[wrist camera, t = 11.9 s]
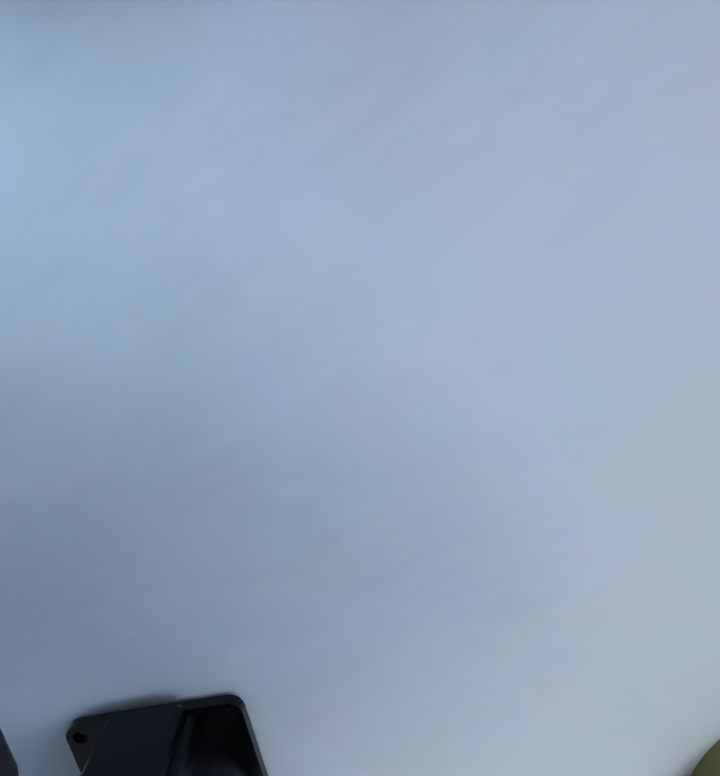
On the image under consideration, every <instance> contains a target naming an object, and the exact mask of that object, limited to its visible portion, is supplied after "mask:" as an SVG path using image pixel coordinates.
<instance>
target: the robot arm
mask: <svg viewBox="0 0 720 776" xmlns="http://www.w3.org/2000/svg"><path fill="white" fill-rule="evenodd" d="M226 709H231V710H233V711H234V712H228V711H227V710H226ZM80 732H82V733H84V734H82V733H80ZM66 738H67V741H68V744H69V746H70V748H71V751H72V753H73V755H74V758H75V760H76V762H77V765H78V767H79V769H80V771H81V775H80V776H268V775H267V771H266V768H265V765H264V762H263V759H262V756H261V753H260V750H259V747H258V744H257V741H256V737H255V734H254V731H253V728H252V725H251V722H250V719H249V716H248V713H247V710H246V707H245V704H244V702H243V700H241V699H240V698H239V697H237V696H234V695H226V696H219V697H213V698H206V699H200V700H194V701H187V702H181V703H174V704H168V705H161V706H155V707H148V708H142V709H135V710H129V711H122V712H116V713H110V714H103V715H97V716H90V717H84V718H79V719H76V720H74V721H73V722H72V724H71V726H70V727H69V729H68V731H67V734H66ZM0 776H19V772H18V766H17V763H16V761H15V759H14V757H13V755H12V752H11V750H10V748H9V746H8V744H7V742H6V740H5V737H4V735H3V733H2V731H1V729H0Z"/></svg>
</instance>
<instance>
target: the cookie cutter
mask: <svg viewBox="0 0 720 776" xmlns="http://www.w3.org/2000/svg"><path fill="white" fill-rule="evenodd" d="M692 776H720V740H719V741H718V742H717V743H716V744H715V745H714V746H713V747H712V748H711V749H710V750H709V751H708V752H707V753H706V754H705V756H704V757H703V758H702V759H701V761H700V762H699V764H698V765H697V767H696V768H695V770H694V772H693V774H692Z"/></svg>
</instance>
